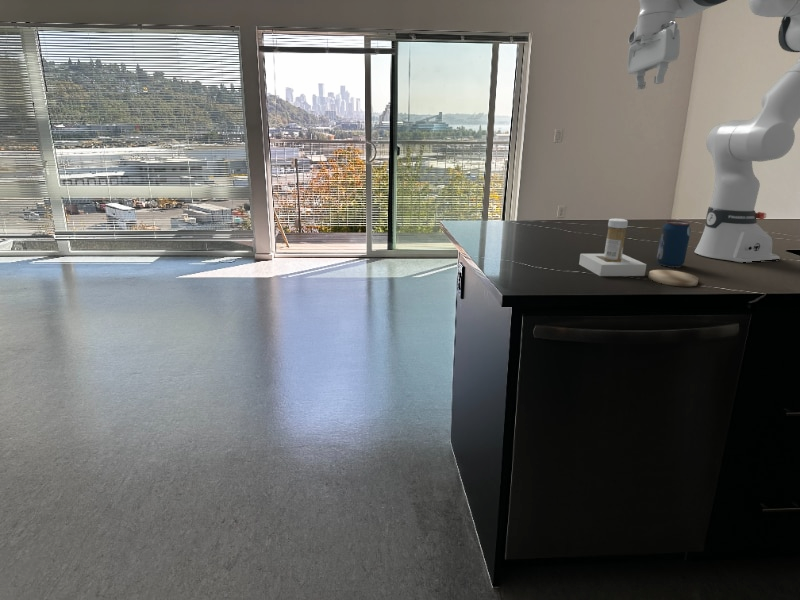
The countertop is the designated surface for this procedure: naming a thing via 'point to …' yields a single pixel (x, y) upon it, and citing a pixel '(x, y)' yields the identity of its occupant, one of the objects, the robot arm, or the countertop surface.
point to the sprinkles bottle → (615, 240)
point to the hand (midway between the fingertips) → (649, 86)
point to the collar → (612, 265)
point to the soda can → (673, 243)
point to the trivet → (673, 278)
